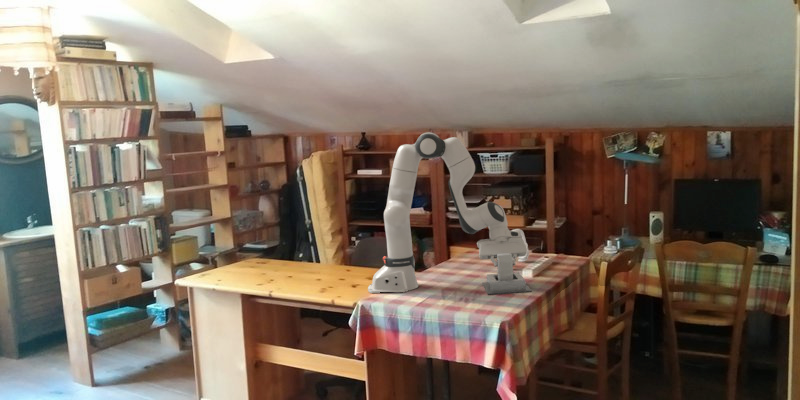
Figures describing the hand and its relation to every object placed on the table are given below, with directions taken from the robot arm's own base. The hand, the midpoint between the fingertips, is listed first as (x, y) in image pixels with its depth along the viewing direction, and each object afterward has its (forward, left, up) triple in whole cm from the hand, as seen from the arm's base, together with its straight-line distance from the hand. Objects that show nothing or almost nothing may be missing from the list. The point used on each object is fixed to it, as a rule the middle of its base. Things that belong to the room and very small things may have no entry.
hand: (505, 265), depth 274 cm
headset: (+11, +39, -10) cm, 42 cm away
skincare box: (0, +1, -7) cm, 7 cm away
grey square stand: (0, +1, -10) cm, 10 cm away
